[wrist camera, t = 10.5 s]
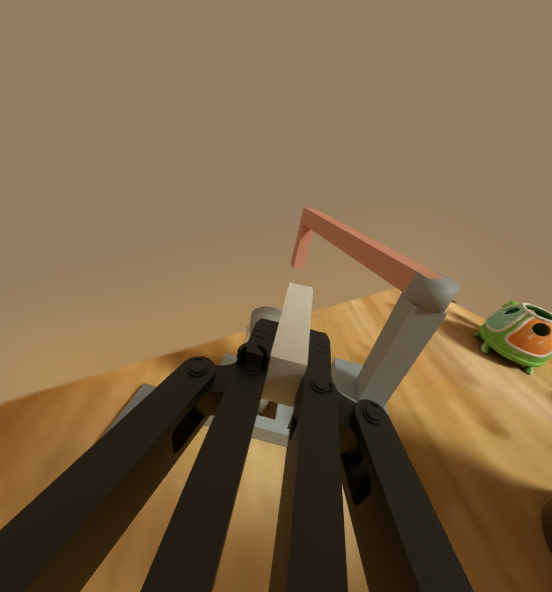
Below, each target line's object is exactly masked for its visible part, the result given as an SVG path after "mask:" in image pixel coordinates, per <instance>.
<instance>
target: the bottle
mask: <svg viewBox="0 0 552 592" xmlns="http://www.w3.org/2000/svg"><path fill="white" fill-rule="evenodd" d="M281 314H282V311H280V310H278V309H276V308H272V307H260V308H257V309H255V310H254V311H253V312H252V314H251V321H250V323H249V324H248V326H247V330H246V337H245V343H247V342H248V340H249V337H250V335H251V333H252V330H253V328H254V325H255V323H256V322H257V321H258V320H260V319H261V318H264V319H268V320H272V321H276V322H279V321H280V317H281ZM268 404H269V401H268V400H264V399H261V401H260V405H259V409H258V413H257V415H260V414H262V413H263V412H264V411H265V410H266V409H267V407H268Z"/></svg>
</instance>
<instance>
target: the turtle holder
mask: <svg viewBox="0 0 552 592" xmlns="http://www.w3.org/2000/svg"><path fill="white" fill-rule="evenodd" d="M528 309H532V310H534V311H535V312H536V313H535V314H534V313H532V312H531V311H529V310H528ZM474 335H475V336H476V337H481V338H482V339H483V340H484V343H483V344H482V345H481V348H480V349H481V351H482V352H483V353H486V354H487V353H488V351H489V349H490V348H492V349H494V350H495V351H496V352H498V353H499V354H501V355H502V356H504V357H506V358H508V359H510V360H512V361H514V362H516V363H519V364H521V365H525V366H524V372H525V373H527V374H529V375H531V374H532V373H533V369H534V367H540V366H542V365H544V364H545V363H546V362H547V360H549V359H550V358H551V357H552V313H550V312H549V311H547V310H544V309H542V308H539V307H537V306H534V305H531V304H528V303H522V304H518V303H517V302H516V301H511V302H509V303H508V304H504V305H503V307H502V309H500V310H498V311H496V312H495V313H493V314H492V315H490V316H489V317H488V318H487V319H486V321H485V323H484V325H482V326H481V327H480V328H479V332H478V333H475V334H474Z"/></svg>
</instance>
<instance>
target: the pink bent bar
mask: <svg viewBox="0 0 552 592" xmlns="http://www.w3.org/2000/svg"><path fill="white" fill-rule="evenodd" d="M313 231H314V232H316V233H317V234H319V235H320V236H322V237H323V238H325V239H326V240H327V241H329V242H331V243H332V244H333V245H335V246H336V247H338V248H339V249H341V250H342V251H344V252H345V253H346V254H348V255H349V256H351V257H352V258H354V259H355V260H357V261H358V262H360V263H361V264H363V265H364V266H366V267H367V268H368V269H370V270H371V271H373V272H374V273H376V274H377V275H379V276H380V277H382V278H383V279H384V280H386V281H387V282H389V283H390V284H392V285H393V286H395V287H396V288H398V289H399V290H400V291H402V292H403V293H404V297H405V298H406V299H407V300H408V301H409V302H410V303H412V304H413V305H415V306H417V307H419V308H421V309H423V310H426V311H429V312H434V313H443V312H444V311H445V310H446V308H447V307H448V305H449V304H450V302H451V301H452V299H453V298H454V296H455V294H456V293H457V292H458V290H459V289H460V285H459V283H458V282H456V281H455V280H453V279H452V278H450V277H448V276H445V275H443V274H441V273H438V272H435V271H431V270H430V269H428V268H425V267H424V266H422V265H420V264H418V263H416V262H414V261H413V260H411V259H409V258H407V257H405V256H403V255H401V254H400V253H398V252H396V251H394V250H392V249H390V248H388V247H386V246H384V245H383V244H381V243H379V242H377V241H375V240H373V239H371V238H370V237H367V236H366V235H364V234H362V233H360V232H358V231H356V230H355V229H353V228H351V227H349V226H347V225H345V224H343V223H341V222H340V221H338V220H336V219H334V218H332V217H330V216H328V215H326V214H325V213H322V212H321V211H319V210H317V209H315V208H305V207H304V208H303V213H302V217H301V221H300V226H299V231H298V235H297V239H296V243H295V248H294V252H293V257H292V262H291V266H292V267H293V268H303V267H304V265H305V261H306V257H307V254H308V249H309V246H310V242H311V238H312V234H313Z"/></svg>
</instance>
